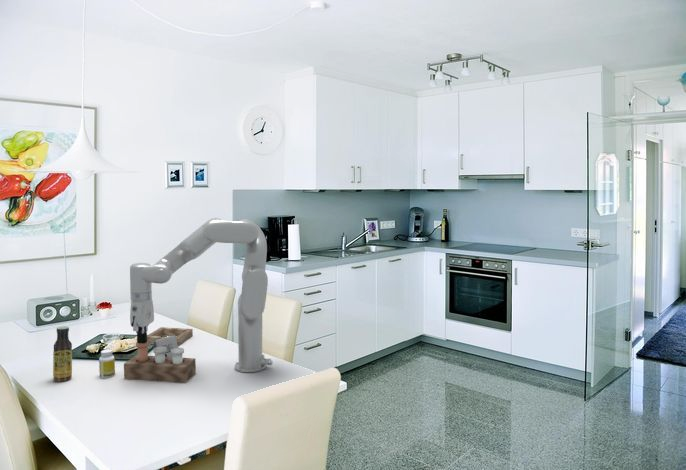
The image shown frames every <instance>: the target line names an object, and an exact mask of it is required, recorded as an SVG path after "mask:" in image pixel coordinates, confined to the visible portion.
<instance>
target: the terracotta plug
mask: <svg viewBox="0 0 686 470" xmlns="http://www.w3.org/2000/svg"><path fill="white" fill-rule="evenodd" d="M149 346H150V345H149V341H147V342H146V343H137V341H136V342H135V348H137V355H138V362H147V361H148V356H149V350H148V349H149V348H148V347H149Z"/></svg>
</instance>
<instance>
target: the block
mask: <svg viewBox="0 0 686 470" xmlns="http://www.w3.org/2000/svg"><path fill="white" fill-rule="evenodd" d="M182 360H183V363H182V364H173V357H165V362H164V363H155V355H148V361H147V362H138V354H137V355H135V356H133V357H132V358H130V359H129V360H127V361H126V362H124V363H123V379H124V380H133V381H135V380H136V381H146V382H147V381H148V382H149V381H150V382H164V383H176V384H177V383H178V384H186V383H187V382H188V381H189V380H190V379H191V378H192V377H194V375H196V374H197V373H196V371H197V369H196V362H197V361H196V358H194V357H193V358H192V357H182Z"/></svg>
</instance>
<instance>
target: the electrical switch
mask: <svg viewBox="0 0 686 470" xmlns="http://www.w3.org/2000/svg"><path fill="white" fill-rule="evenodd" d="M165 337H166V338H162V339H158V340H156V341H155V342H154V345H153V347H154V348H156V347H166V348H167V351H166V352H165V357H173V355H172V354H171V349H173V348H179V346H178V345H177V339H176V337H177V336H165Z"/></svg>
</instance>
